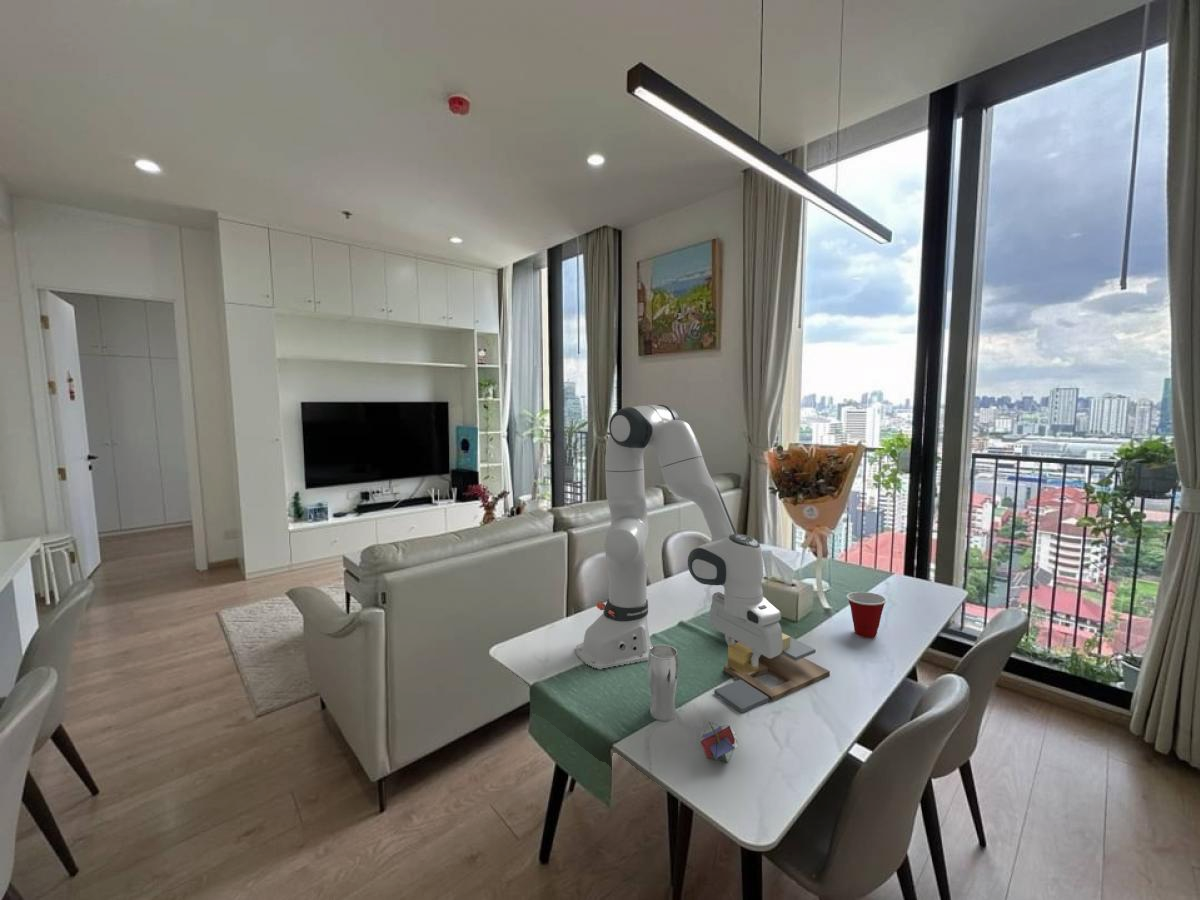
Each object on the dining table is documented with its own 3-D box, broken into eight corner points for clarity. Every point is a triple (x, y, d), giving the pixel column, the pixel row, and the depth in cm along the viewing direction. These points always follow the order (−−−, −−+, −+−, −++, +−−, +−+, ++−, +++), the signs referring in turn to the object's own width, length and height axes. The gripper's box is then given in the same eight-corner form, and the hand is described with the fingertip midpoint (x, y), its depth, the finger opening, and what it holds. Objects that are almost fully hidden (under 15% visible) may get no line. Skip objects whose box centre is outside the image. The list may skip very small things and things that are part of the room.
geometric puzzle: (700, 762, 95) (723, 728, 95) (687, 738, 102) (709, 707, 102) (727, 778, 97) (750, 745, 97) (713, 754, 103) (734, 723, 103)
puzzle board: (771, 701, 118) (772, 681, 117) (723, 670, 131) (724, 652, 131) (829, 675, 129) (830, 657, 128) (779, 649, 142) (780, 632, 142)
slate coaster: (741, 713, 113) (741, 709, 113) (714, 693, 121) (714, 689, 121) (768, 701, 118) (768, 697, 118) (740, 682, 125) (740, 679, 125)
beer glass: (641, 712, 114) (641, 651, 112) (660, 700, 119) (660, 640, 117) (665, 726, 109) (665, 662, 107) (684, 712, 114) (684, 651, 112)
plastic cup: (852, 622, 159) (853, 586, 158) (889, 633, 151) (891, 596, 150) (839, 634, 151) (841, 596, 150) (878, 646, 144) (880, 606, 142)
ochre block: (743, 674, 115) (743, 654, 115) (727, 665, 119) (727, 645, 119) (758, 668, 118) (758, 648, 117) (742, 659, 122) (742, 640, 121)
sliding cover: (795, 660, 126) (795, 646, 125) (758, 641, 136) (759, 627, 136) (815, 652, 130) (816, 638, 129) (778, 634, 140) (778, 621, 140)
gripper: (703, 592, 124) (703, 644, 126) (767, 622, 107) (767, 682, 108) (721, 587, 127) (721, 638, 129) (787, 615, 110) (786, 674, 111)
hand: (743, 658), depth 118 cm, fingers closed on ochre block, 5 cm apart
